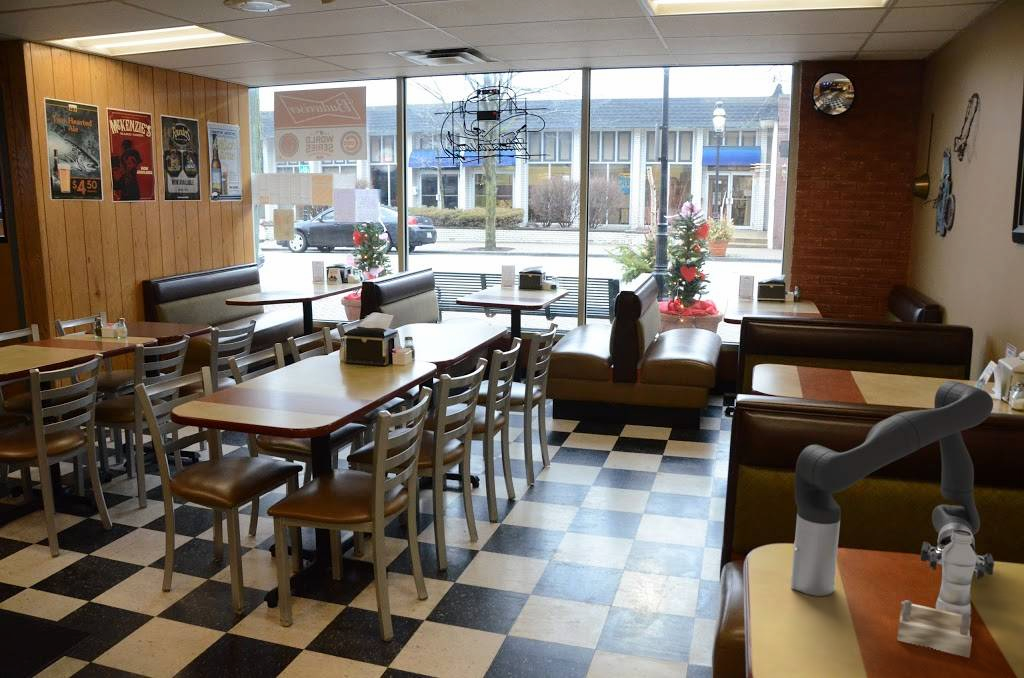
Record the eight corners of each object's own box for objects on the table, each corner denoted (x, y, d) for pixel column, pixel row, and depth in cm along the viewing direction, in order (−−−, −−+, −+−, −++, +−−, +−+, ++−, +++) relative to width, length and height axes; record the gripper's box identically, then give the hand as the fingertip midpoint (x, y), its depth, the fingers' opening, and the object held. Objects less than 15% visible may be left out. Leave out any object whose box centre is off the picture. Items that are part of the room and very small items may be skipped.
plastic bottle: (973, 630, 173) (985, 540, 169) (939, 626, 174) (949, 537, 170) (963, 615, 179) (974, 528, 175) (930, 611, 180) (940, 525, 177)
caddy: (897, 640, 168) (900, 610, 167) (899, 618, 177) (903, 590, 176) (969, 657, 162) (973, 627, 161) (968, 634, 171) (972, 605, 170)
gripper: (923, 522, 195) (922, 547, 180) (993, 534, 188) (996, 561, 174) (920, 551, 196) (918, 579, 182) (989, 565, 189) (992, 594, 175)
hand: (956, 570), depth 178 cm, fingers open, 8 cm apart
